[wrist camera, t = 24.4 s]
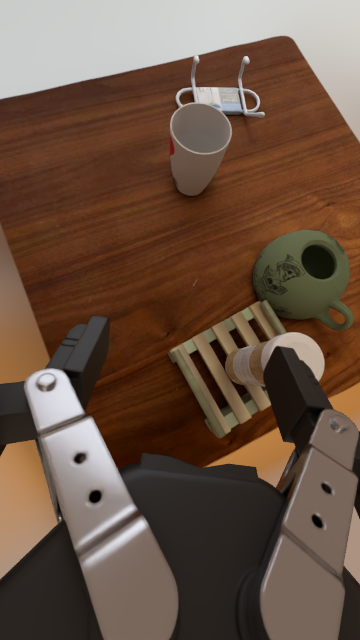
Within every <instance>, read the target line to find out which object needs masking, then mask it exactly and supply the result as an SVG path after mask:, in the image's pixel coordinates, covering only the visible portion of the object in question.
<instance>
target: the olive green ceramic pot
mask: <svg viewBox="0 0 360 640" xmlns="http://www.w3.org/2000/svg"><path fill="white" fill-rule="evenodd" d="M349 278H350V263H349V259H348V257H347V255H346V253H345V251H344V249H343V247H342V246H341V245H340V244H339V243H338V242H337V241H336V240H335V239H334V238H332V237H330V236H328V235H326V234H324V233H322V232H320V231H312V230H300V231H296V232H293V233H289V234H285V235H282V236H280V237H279V238H277V239H276V240H274V241H273V242H272V243H270V244H269V245H268V246H267V247H266V248H264V249H263V250H262V252H261V254H260V256H259V258H258V260H257V262H256V265H255V267H254V269H253V286H254V289H255V291H256V294H257V296H258V299H259V300H260V301H261V302H263V301H265V300H267V301H268V303H269V305H270V306H271V308H272V309H273V311H274V313H275V314H277V315H278V316H280V317H282V318H288V319H298V320H299V319H308V318H311V317H312V318H316V319H318V320H320V321H321V322H323V323H324V324H325V325H326V326H328V327H330V328H331V329H333V330H338V331H342V330H345V329H347V328H349V327H350V326H351V324H352V323H353V321H354V316H353V313H352V312H351V310H350V309H349V308H348V307H347V306H346V305H344V304H343V303H342V302H341V301H340V300H339V299H340V297H341V296H342V295H343V293H344V291H345V289H346V287H347V284H348V281H349ZM330 307H331V308H333V309H335V310H337V311H339V312H340V313H342V314H343V315H344V316H345V322H344V323H343V324H338V323H336V322H334V321H333V320H332V319H331V317H330V315H329V309H330Z"/></svg>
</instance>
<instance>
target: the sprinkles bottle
mask: <svg viewBox="0 0 360 640" xmlns="http://www.w3.org/2000/svg"><path fill="white" fill-rule="evenodd" d="M276 346H282V347H288V348H293V349H294V350H295V352H296V353H297V355H298V357H299V359H300V360H303V361H304V362H305V363H306V364H307V365H308V366H309V367H310V368H311V370H312V372H313V373H314V375H315V378H316V379H317V380H318V381H319V380H320V379H321V377H322V374H323V371H324V357H323V354H322V351H321V349H320V347H319V346H318V345H317V343H316V342H315V341H314V340H313V339H311V338H310V337H308V336H306V335H304V334H301V333H296V332H291V333H286V334H282V335H279V336H276V337H274V338H272V339H271V340H269V341H266V342H262V343H259V344H254V345H251V346H247V347H244V348H242V349H237V350H234V351H233V352H231V353H230V354H229V356H228V357H227V359H226V362H225V369H226V373H227V375H228V376H229V378H230V379H231V380H232V381H233V382H235V383H237V384H241V385H254V386H265V384H264V381H263V372H264V369H265V366H266V364H267V362H268V360H269V358H270V356H271V354H272V352H273V350H274V348H275V347H276Z"/></svg>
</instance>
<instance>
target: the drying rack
mask: <svg viewBox="0 0 360 640" xmlns="http://www.w3.org/2000/svg"><path fill="white" fill-rule="evenodd" d="M253 318H255V320H256V321H257V323H258V325H259V326H260V328H261V330H262V331H263V333H264V335H265V336H266V338H267V339H268V341H269V340H271V339H272V338H274V337H276V336H279V335H282V334H286V333H287V332H286V330H285V329H284V327H283V325H282V324H281V322H280V321H279V319H278V317H277V316H276V314H275V313H274V311H273V309H272V308H271V306H270V305H269V303H268V301H267V300H265V301H263V302H262V303H261V302H260V301H258V302H256V303H255V304H253V305H251V306H249V307H248V308H246V309H244V310H242V311H240V312H238V313H236V314H235V315H233V316H231V317H230V318H228V319H226V320H224V321H223V322H220V323H218V324H217V325H215V326H213V327H211V328H210V329H208V330H206V331H205V332H202V333H200V334H198V335H197V336H195V337H193V338H192V339H190V340H188V341H186V342H185V343H183V344H180V345H178V346H177V347H175V348H173V349H172V350H170V351H169V353H168V355H169V357H170V359H171V361H172V362H173V363H175V362H177V364H178V366H179V367H180V369H181V371H182V373H183V375H184V376H185V378H186V380H187V382H188V384H189V386H190V387H191V389H192V391H193V393H194V395H195V396H196V398H197V400H198V402H199V404H200V406H201V407H202V409H203V411H204V413H205V415H206V416H207V419H205V420H204V421H205V423H206V425H207V426H208V428H209V430H210V431H211V432H212V433H213V434H214V435H215V436H216V437H218V438H222V437H224V436H225V435H226V434H227V433H229V432H230V431H231V428H232V427H234V426H236V425H237V424H242V423H244V422H246V421H247V420H249V419H250V418H251V415H252V414H254V413H255V412H257V411H262V410H264V409H265V408H267V407H268V406H270V405H271V402H270V399H269V396H268V393H267V390H266V387H265V386H254V385H244V386H245V388H246V390H247V391H248V393H246V394H245V395H243V396H242V397H240V396H239V394H238V393H237V391H236V389H235V388H234V386H233V384H232V382H231V381H230V379H229V377H228V375H227V374H226V372H225V370H224V368H223V367H222V365H221V363H220V361H219V360H218V358H217V356H216V354H215V353H214V351H213V349H212V347H211V346H210V344H209V343H210V342H212V341H214V340H215V339H217V340H218V341H219V343H220V345H221V347H222V348H223V350H224V352H225V353H226V355H227V357H228V356H229V354H230V353H231V352H233V351H234V350H237V349H238V347H237V346H236V344H235V342H234V340H233V339H232V337H231V335H230V334H229V332H230V331H231V330H233V329H235V328H236V329H237V331H238V332H239V334H240V336H241V337H242V339H243V341H244V342H245V344H246V346H251V345H254V344H259V343H260V341H259V340H258V338H257V336H256V335H255V333H254V332H253V330H252V328H251V327H250V325H249V323H248V322H247V321H249V320H251V319H253ZM196 350H198V352H199V353H200V355H201V357H202V359H203V361H204V362H205V364H206V366H207V368H208V369H209V371H210V373H211V375H212V376H213V378H214V380H215V382H216V384H217V385H218V387H219V389H220V391H221V392H222V394H223V396H224V398H225V399H226V401H227V403H228V405H227V406H226V407H224V408H222V409H221V410H219V408H218V406H217V404H216V402H215V401H214V399H213V397H212V395H211V393H210V392H209V390H208V388H207V386H206V385H205V383H204V381H203V379H202V377H201V376H200V374H199V372H198V370H197V368H196V367H195V365H194V363H193V361H192V360H191V358H190V356H189V354H191V353H192V352H194V351H196Z"/></svg>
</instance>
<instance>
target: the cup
mask: <svg viewBox="0 0 360 640" xmlns="http://www.w3.org/2000/svg"><path fill="white" fill-rule="evenodd" d="M231 136H232V128H231V124H230V122H229V120H228V118H227V117H226V116H225V115H224V113H223V112H221V111H220V110H219V109H217V108H216V107H214V106H212V105H209V104H206V103H199V102H195V103H188V104H185V105H183V106H181V107H180V108H178V109H177V110H176V111H175V112H174V114H173V116H172V118H171V122H170V159H171V168H172V174H173V178H174V181H175V184H176V187H177V189H178V190H179V191H180V192H181V193H183V194H185V195H188V196H195V195H198V194H200V193H201V192H202V191H203V190H204V189H205V187H206V186H207V185H208V184H209V183H210V181H211V180H212V178H213V176H214V174H215V173H216V171H217V169H218V167H219V166H220V164H221V161H222V159H223V156H224V154H225V152H226V149H227V147H228V144H229V142H230V139H231Z"/></svg>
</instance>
